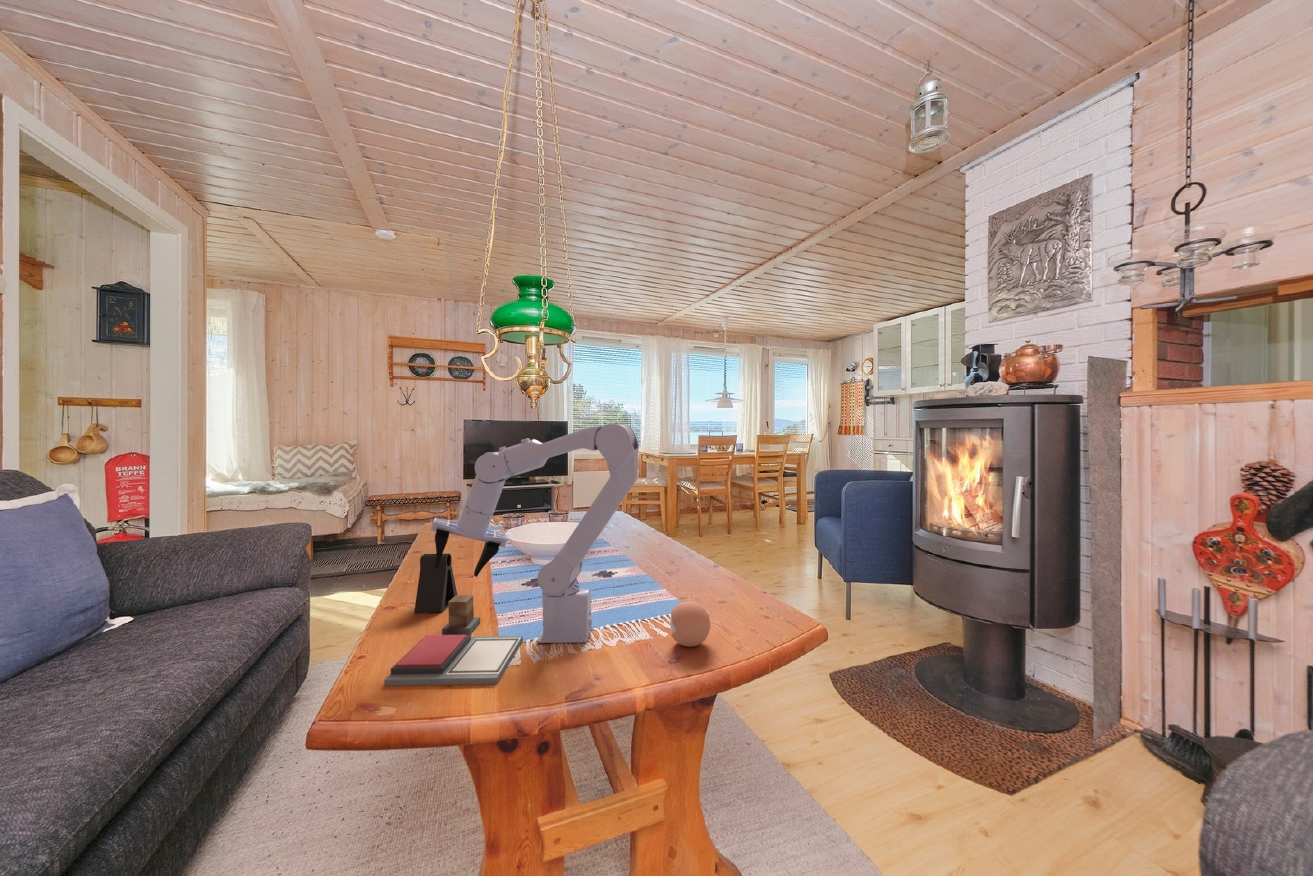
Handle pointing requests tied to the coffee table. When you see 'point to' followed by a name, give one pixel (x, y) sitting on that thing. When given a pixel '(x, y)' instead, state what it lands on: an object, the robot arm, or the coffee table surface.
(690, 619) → the toy ball
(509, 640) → the stamp board
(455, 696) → the coffee table surface
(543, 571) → the robot arm
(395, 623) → the coffee table surface
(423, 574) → the phone stand
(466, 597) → the stamp
